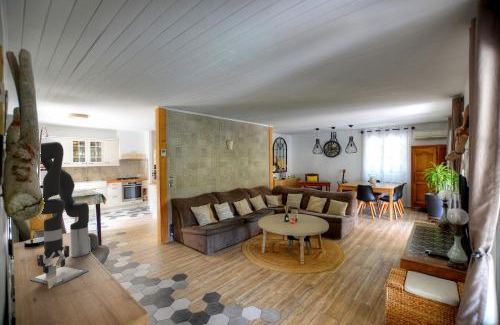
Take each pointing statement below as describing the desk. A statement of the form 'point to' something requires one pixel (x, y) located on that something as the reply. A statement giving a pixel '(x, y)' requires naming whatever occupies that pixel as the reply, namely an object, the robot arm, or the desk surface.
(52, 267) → the lighter
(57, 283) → the clipboard
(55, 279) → the cream rectangular slab
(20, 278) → the desk surface
